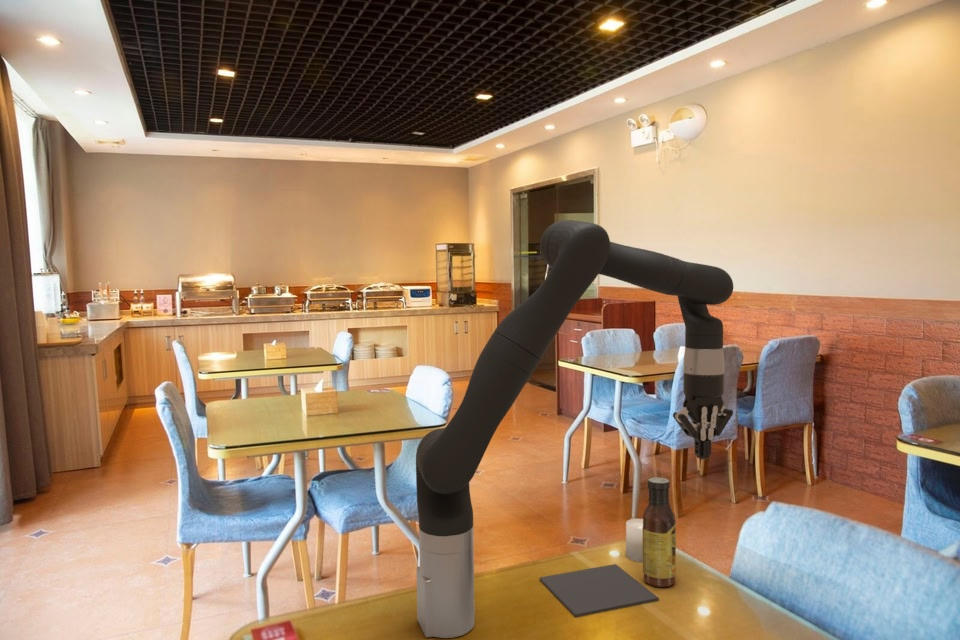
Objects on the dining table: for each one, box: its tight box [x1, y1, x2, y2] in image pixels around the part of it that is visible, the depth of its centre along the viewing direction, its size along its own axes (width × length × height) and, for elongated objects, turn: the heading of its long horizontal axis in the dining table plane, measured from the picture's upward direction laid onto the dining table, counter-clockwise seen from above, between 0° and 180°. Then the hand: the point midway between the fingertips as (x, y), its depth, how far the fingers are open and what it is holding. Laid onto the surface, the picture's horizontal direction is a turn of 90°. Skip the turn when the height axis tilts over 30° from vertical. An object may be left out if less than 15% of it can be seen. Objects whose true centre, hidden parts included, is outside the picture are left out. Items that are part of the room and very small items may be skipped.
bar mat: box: [539, 563, 660, 618], centre depth 124 cm, size 17×15×1 cm
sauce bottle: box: [642, 476, 677, 588], centre depth 126 cm, size 6×6×20 cm
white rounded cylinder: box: [625, 518, 643, 563], centre depth 138 cm, size 6×6×7 cm
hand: (702, 457), depth 129 cm, fingers closed
